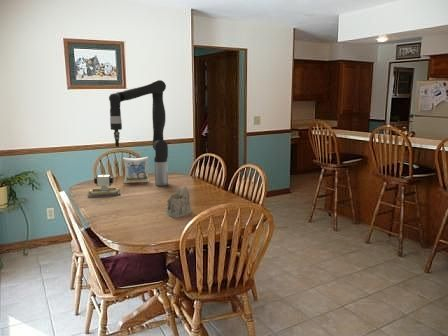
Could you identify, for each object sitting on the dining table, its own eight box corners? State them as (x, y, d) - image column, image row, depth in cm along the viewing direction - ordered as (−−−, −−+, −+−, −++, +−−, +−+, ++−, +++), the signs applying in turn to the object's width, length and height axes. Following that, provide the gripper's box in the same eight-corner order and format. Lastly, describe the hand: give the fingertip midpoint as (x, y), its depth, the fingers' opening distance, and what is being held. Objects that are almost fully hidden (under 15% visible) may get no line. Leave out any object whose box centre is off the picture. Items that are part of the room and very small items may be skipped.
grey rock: (175, 206, 224) (174, 182, 220) (197, 212, 214) (196, 186, 211) (156, 214, 212) (155, 188, 208) (178, 221, 202) (176, 194, 199)
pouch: (124, 182, 289) (122, 156, 286) (149, 180, 293) (148, 155, 289) (123, 184, 282) (122, 157, 278) (149, 183, 285) (148, 156, 282)
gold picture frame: (119, 190, 263) (119, 186, 262) (120, 195, 250) (120, 190, 249) (89, 192, 257) (89, 188, 257) (88, 197, 244) (88, 193, 244)
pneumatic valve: (113, 192, 251) (111, 174, 249) (94, 192, 250) (93, 175, 248) (114, 190, 257) (113, 173, 255) (96, 190, 256) (95, 173, 253)
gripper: (121, 123, 256) (123, 147, 259) (121, 121, 270) (122, 144, 273) (110, 123, 254) (111, 147, 257) (110, 122, 268) (111, 145, 271)
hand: (117, 146), depth 265 cm, fingers open, 8 cm apart
